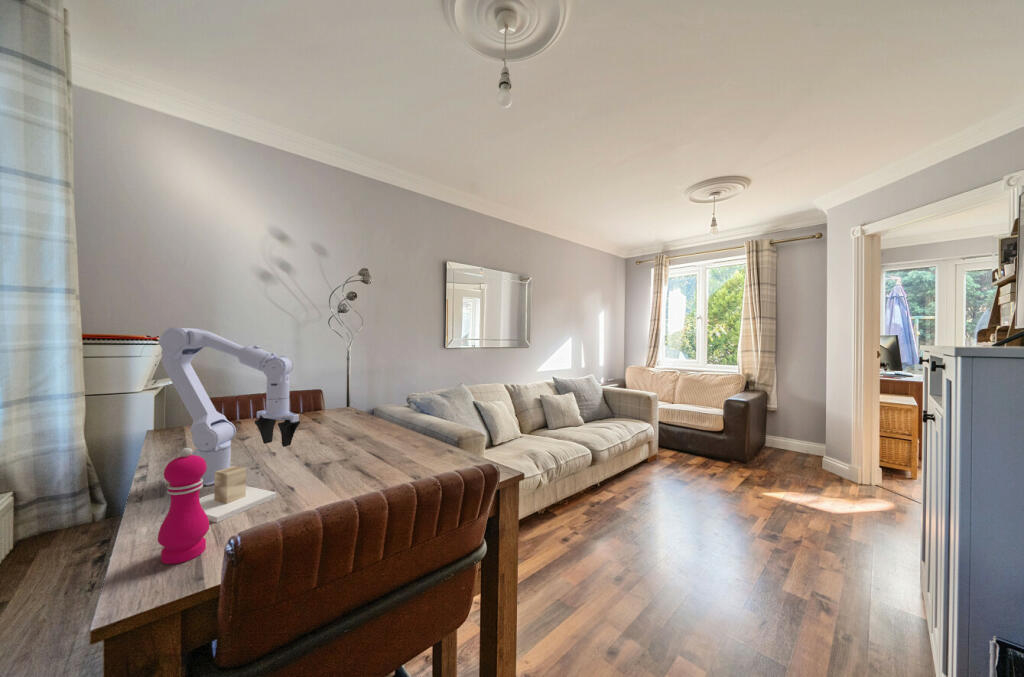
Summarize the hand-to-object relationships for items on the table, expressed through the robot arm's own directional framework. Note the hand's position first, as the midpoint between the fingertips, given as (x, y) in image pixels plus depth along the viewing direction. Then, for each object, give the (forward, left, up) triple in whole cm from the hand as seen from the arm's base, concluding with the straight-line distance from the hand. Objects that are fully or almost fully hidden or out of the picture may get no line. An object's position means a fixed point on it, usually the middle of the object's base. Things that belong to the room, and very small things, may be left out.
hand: (277, 444), depth 108 cm
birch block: (+6, -17, -8) cm, 20 cm away
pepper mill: (+20, -34, -10) cm, 41 cm away
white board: (+6, -17, -9) cm, 20 cm away
